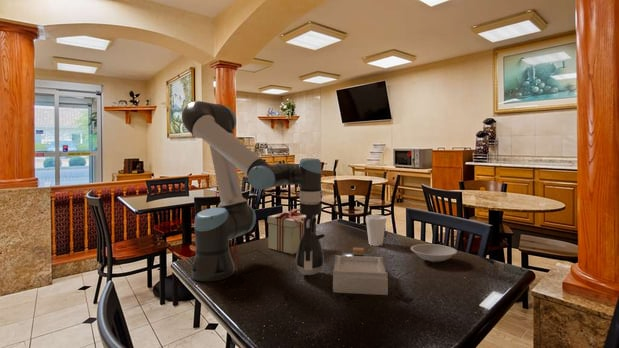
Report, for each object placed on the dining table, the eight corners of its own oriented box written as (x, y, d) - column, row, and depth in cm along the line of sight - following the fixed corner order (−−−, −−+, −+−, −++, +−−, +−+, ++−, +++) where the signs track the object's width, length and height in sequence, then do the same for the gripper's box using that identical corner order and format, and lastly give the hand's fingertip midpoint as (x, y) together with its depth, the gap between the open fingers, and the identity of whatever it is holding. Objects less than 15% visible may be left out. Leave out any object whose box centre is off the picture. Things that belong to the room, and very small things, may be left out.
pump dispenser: (322, 279, 108) (322, 236, 106) (292, 276, 110) (292, 234, 109) (326, 268, 118) (326, 228, 116) (299, 265, 120) (299, 226, 118)
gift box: (300, 256, 134) (300, 216, 133) (266, 249, 143) (265, 212, 142) (319, 245, 149) (319, 209, 147) (287, 240, 158) (286, 206, 156)
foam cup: (362, 242, 153) (362, 215, 152) (379, 240, 156) (379, 214, 155) (371, 248, 144) (371, 220, 143) (389, 245, 147) (389, 218, 146)
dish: (416, 268, 120) (416, 255, 119) (406, 255, 134) (406, 243, 134) (463, 268, 119) (464, 255, 119) (448, 255, 134) (448, 243, 133)
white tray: (332, 292, 100) (332, 267, 100) (336, 265, 123) (336, 245, 122) (387, 295, 98) (388, 270, 98) (380, 267, 121) (380, 246, 120)
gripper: (317, 209, 100) (317, 276, 102) (323, 197, 122) (323, 253, 124) (294, 208, 101) (294, 275, 103) (304, 197, 123) (304, 252, 125)
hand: (310, 263), depth 114 cm, fingers closed on pump dispenser, 10 cm apart
